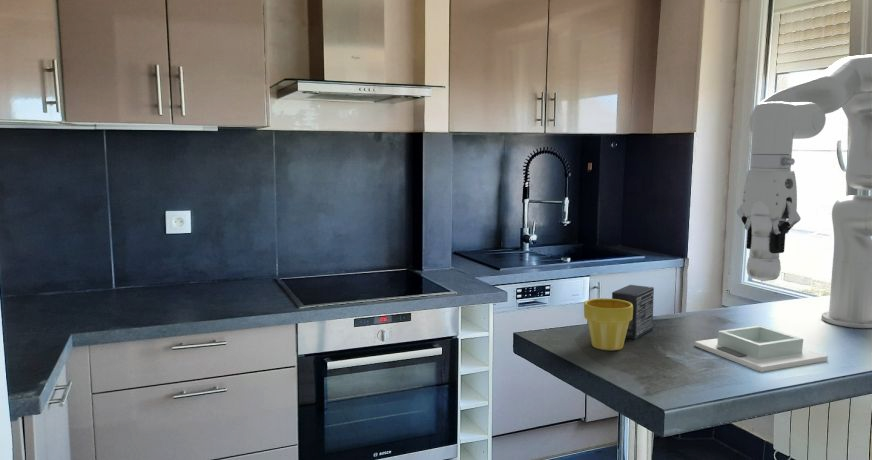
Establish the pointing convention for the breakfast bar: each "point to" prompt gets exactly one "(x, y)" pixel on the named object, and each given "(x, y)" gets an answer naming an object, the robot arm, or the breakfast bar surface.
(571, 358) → the breakfast bar surface
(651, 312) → the small box
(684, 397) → the breakfast bar surface
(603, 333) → the plant pot
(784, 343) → the charging dock
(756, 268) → the metal bottle
